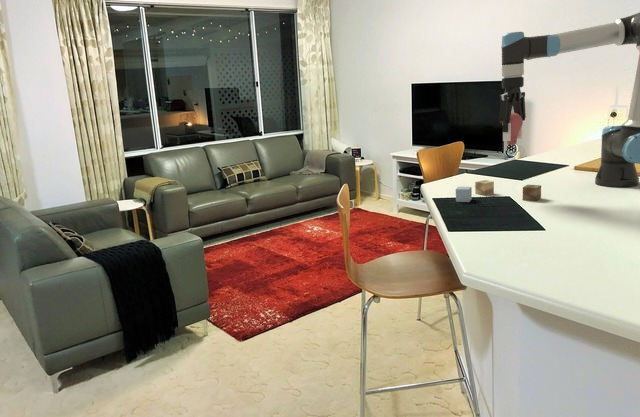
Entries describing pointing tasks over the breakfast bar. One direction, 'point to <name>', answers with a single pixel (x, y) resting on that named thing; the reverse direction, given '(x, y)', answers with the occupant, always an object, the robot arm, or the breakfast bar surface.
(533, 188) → the walnut block
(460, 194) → the slate-blue painted block
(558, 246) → the breakfast bar surface
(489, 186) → the oak block
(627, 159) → the robot arm
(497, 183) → the breakfast bar surface
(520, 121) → the light bulb
